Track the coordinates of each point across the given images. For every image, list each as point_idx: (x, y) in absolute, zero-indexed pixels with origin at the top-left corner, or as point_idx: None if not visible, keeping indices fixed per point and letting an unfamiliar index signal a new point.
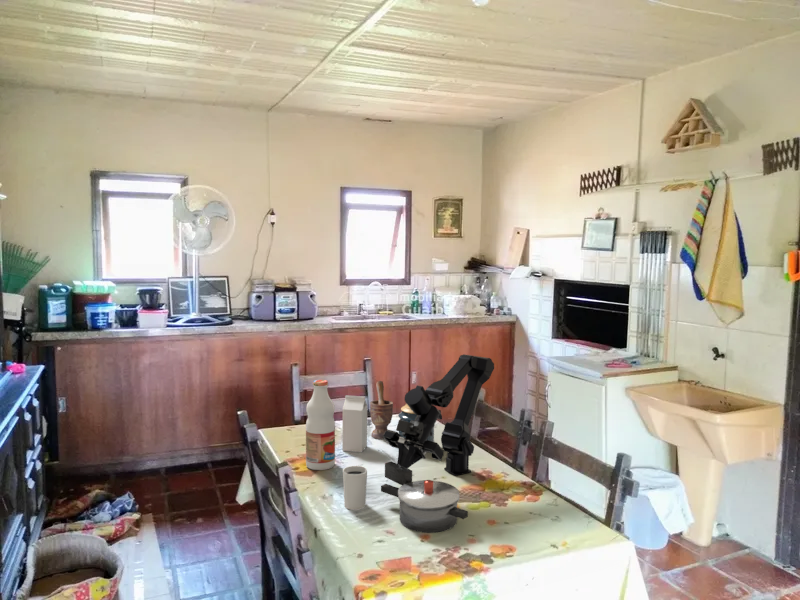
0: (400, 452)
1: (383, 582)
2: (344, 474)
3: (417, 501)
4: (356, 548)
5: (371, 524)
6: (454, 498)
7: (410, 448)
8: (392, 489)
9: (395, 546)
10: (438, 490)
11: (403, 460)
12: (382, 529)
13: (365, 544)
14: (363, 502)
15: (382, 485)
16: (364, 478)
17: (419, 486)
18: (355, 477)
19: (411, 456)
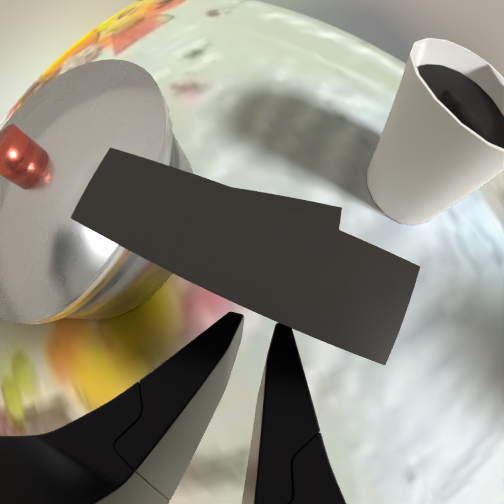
0: (301, 498)
1: (147, 4)
2: (474, 63)
3: (70, 78)
4: (233, 20)
5: (262, 94)
6: None
7: (28, 486)
8: (248, 193)
9: (153, 57)
10: (4, 209)
11: (253, 449)
12: (214, 88)
13: (222, 33)
14: (372, 168)
15: (337, 218)
16: (403, 91)
17: (69, 199)
18: (420, 52)
19: (90, 431)
